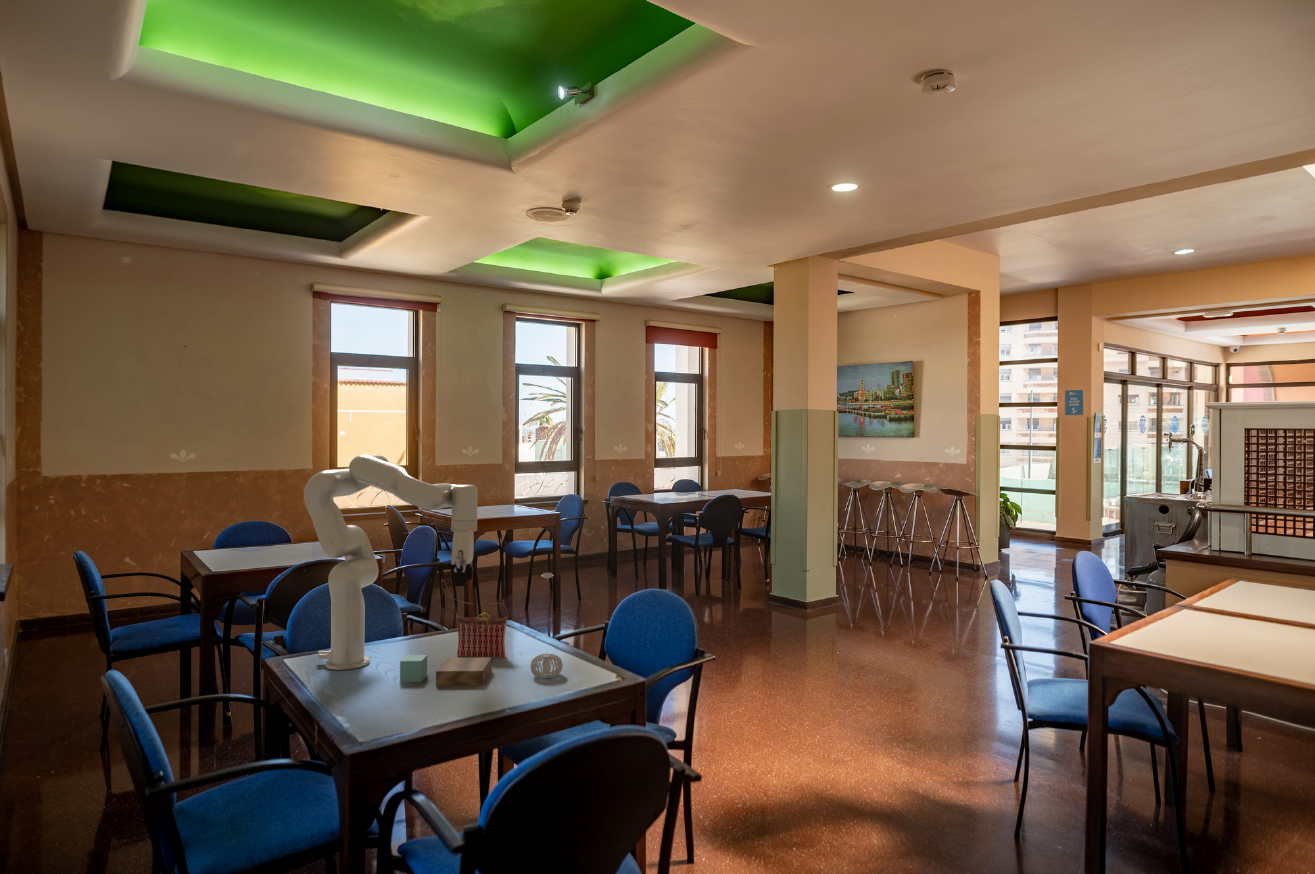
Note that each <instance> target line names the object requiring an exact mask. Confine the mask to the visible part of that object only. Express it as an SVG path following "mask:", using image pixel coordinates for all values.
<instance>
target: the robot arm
mask: <svg viewBox="0 0 1315 874" xmlns="http://www.w3.org/2000/svg"><path fill="white" fill-rule="evenodd" d="M369 487H372V488H376V489H379V490H382V491H384V492H387V493H389V494H392V495H394V497H396V498H398V499H399V500H401V501H403V502H405V503H407V504H410V505H411V506H416V507H419V508H420V509H424V510H427V511H435V510H441V509H446V508H451V521H450V522H451V526H450V531H451V532H453V536H452V547H451V565H453V566H454V565H455V566H454V567H455V568H454V579H453V580H454V581H453V582H454V586H455V587H465V586H466V585H467V581H471V580H472V579H473V560H474V551H475V550H474V549H475V548H474V546H475V544H474V543H475V541H474V540H475V539H474V538H475V535H474V532H477V531H478V500H479V499H478V497H479V496H478V493H479V492H478V491H479V490H478V487H477V485H474V484H452V483H445V482H443V483H442V482H441V483H434V484H431V483H428V482H425V481H422V480H420V479H417V478H415V477H412V476H410V475H409V474H408V470H407V469H406V468H404V467H403V466H400V465H398V464H395V463H391V462H390V461H389V460H388V459H387V458H386V457H385V456H383V455H380V454H376V453H375V454H360V455H357V456H355V457H354V458H353V459H351V461H350V462H349V465H348V467H346V468H344V469H343V468H342V469H326V470H322V471H319V472H317V473H315V474H314V475H311V477H310V478H309V479H308V481H307V483H306V484H305V486H304V490H303V499H304V504H305V507H306V509H307V511H308V514H309V515H310V518H311V520H312V523H313V527H314V529H315V533H316V535H317V536H316V537H317V538H318V542H319V544H320V547H321V550H322V552H323V554H324V555H325V556H326V557H327V558H328V559H333V560H335V559H336V560H337V559H342V558H344V561H342V562H339V563H337V564H336V565H335V566H333V568H332V569H331V570H330V572H329V574H328V578H327V579H328V582H327V583H328V589H329V594H330V602H331V603H330V622H331V623H330V627H331V628H330V649H329V650H318V652H317V658H318V659H319V660H320V659H326V661H325V662H324V663H325V664H324V666H325V668H326V669H327V670H328V669H329V670H332V671H346V670H347V671H348V670H353V669H354V670H355V669H358V668H363V667H365V666H368V665H369V664H370V662H371V658H370V657H369V656H367V655H365V638H366V636H365V634H366V633H365V628H366V626H365V625H366V623H365V621H366V619H365V617H366V615H365V613H366V604H365V597H364V595H363V592H362V591H363V590H362V589H363V588H366V587H368V586H370V585H372V584H373V583H374V582H375V581H377V579H378V576H379V571H380V570H379V565H378V561H377V558H376V556H375V553H374V550H373V548H372V545H371V541H370V540H369V537H368V535H367V533H366V532H365V531H364V529H363V528H361V527H360V526H358V525H354V524H348V525H347V523H346V521H345V519H344V516H343V513H342V511H341V508H340V507H339V506H338V504H336V502H335V500H334V498H338V497H345V496H351V495H353V494H356V493H358V492H360V491H363V490H365V489H367V488H369Z"/></svg>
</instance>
